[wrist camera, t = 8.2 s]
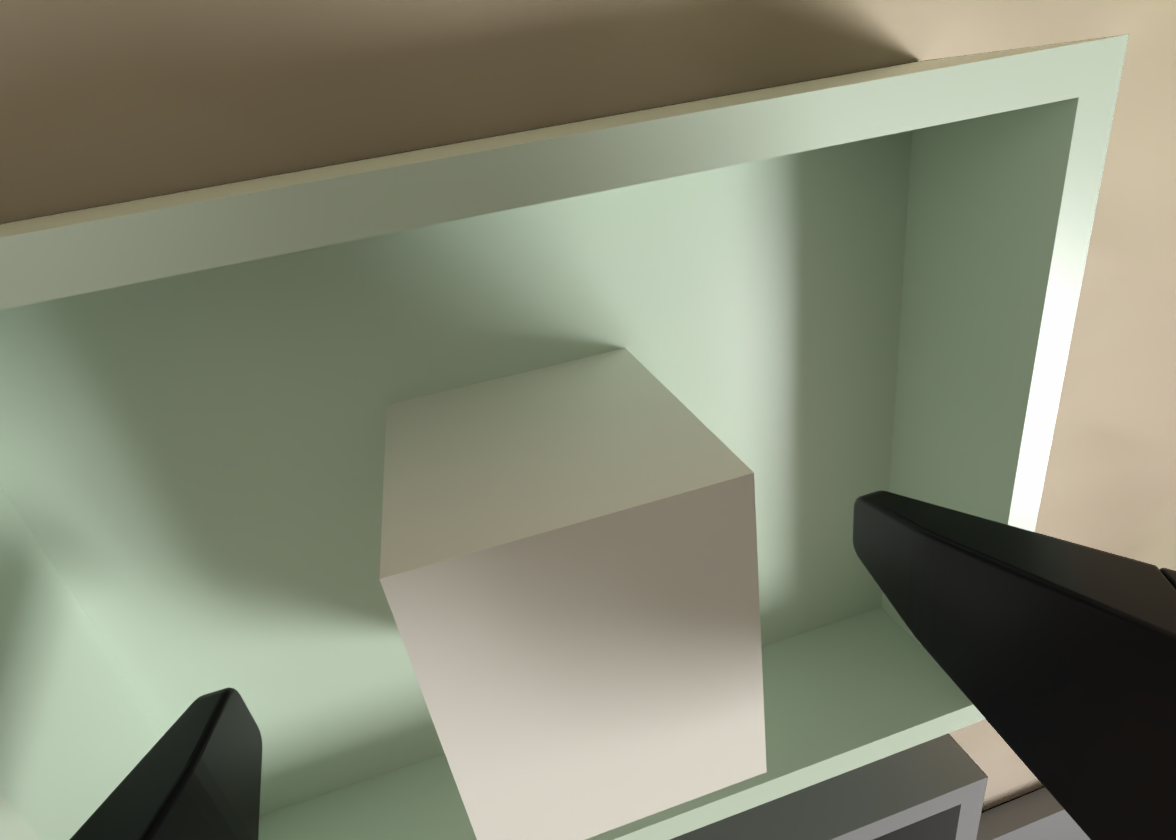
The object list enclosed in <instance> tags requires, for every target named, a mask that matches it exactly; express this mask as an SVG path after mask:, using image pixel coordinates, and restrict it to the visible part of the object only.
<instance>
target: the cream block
mask: <svg viewBox="0 0 1176 840" xmlns="http://www.w3.org/2000/svg"><path fill="white" fill-rule="evenodd" d="M379 579H380V582H381V585H382V587H383V590H384V593H385V595H386V598H387V601H388V603H389V606H390V609H391V611H392V614H393V617H394V619H395V622H396V625H397V627H398V630H399V633H400V635H401V638H402V641H403V643H404V646H405V649H406V651H407V654H408V657H409V659H410V662H411V665H412V667H413V670H414V673H415V675H416V678H417V681H418V683H419V686H420V689H421V691H422V694H423V697H424V699H425V702H426V705H427V707H428V710H429V713H430V715H431V718H432V721H433V723H434V726H435V729H436V731H437V734H438V737H439V740H440V742H441V745H442V748H443V750H444V753H445V756H446V758H447V761H448V764H449V766H450V769H451V772H452V774H453V777H454V780H455V782H456V785H457V788H458V790H459V793H460V796H461V798H462V801H463V804H464V806H465V809H466V812H467V814H468V817H469V820H470V822H471V825H472V828H473V830H474V833H475V836H476V838H477V840H585V839H588V838H590V837H593V836H596V835H599V834H601V833H604V832H607V831H609V830H612V829H615V828H617V827H620V826H623V825H626V824H628V823H631V822H634V821H636V820H639V819H642V818H644V817H647V816H650V815H652V814H655V813H658V812H661V811H663V810H666V809H669V808H671V807H674V806H677V805H679V804H682V803H685V802H688V801H690V800H693V799H696V798H698V797H701V796H704V795H706V794H709V793H712V792H714V791H717V790H720V789H723V788H725V787H728V786H731V785H733V784H736V783H739V782H741V781H744V780H747V779H750V778H752V777H755V776H758V775H760V774H763V773H766V772H767V768H766V744H765V720H764V697H763V673H762V649H761V625H760V602H759V578H758V554H757V530H756V507H755V483H754V472H753V471H752V470H751V469H750V468H749V467H748V466H747V465H746V464H745V463H743V462H742V461H741V460H740V459H739V458H738V457H737V456H736V455H735V454H734V453H733V452H732V451H731V450H730V449H729V448H728V447H727V446H726V445H725V444H724V443H723V442H722V441H721V440H720V439H719V438H718V437H717V436H716V435H715V434H714V433H712V432H711V431H710V430H709V429H708V428H707V427H706V426H705V425H704V424H703V423H702V422H701V421H700V420H699V419H698V418H697V417H696V416H695V415H694V414H693V413H692V412H691V411H690V410H689V409H688V408H687V407H686V406H685V405H684V404H683V403H682V402H680V401H679V400H678V399H677V398H676V397H675V396H674V395H673V394H672V393H671V392H670V391H669V390H668V389H667V388H666V387H665V386H664V385H663V384H662V383H661V382H660V381H659V380H658V379H657V378H656V377H655V376H654V375H653V374H652V373H651V372H649V371H648V370H647V369H646V368H645V367H644V366H643V365H642V364H641V363H640V362H639V361H638V360H637V359H636V358H635V357H634V356H633V355H632V354H631V353H630V352H629V351H628V350H627V349H626V348H623V349H619V350H615V351H611V352H606V353H602V354H598V355H594V356H590V357H586V358H581V359H577V360H573V361H569V362H565V363H560V364H556V365H552V366H548V367H544V368H540V369H535V370H531V371H527V372H523V373H519V374H515V375H510V376H506V377H502V378H498V379H494V380H489V381H485V382H481V383H477V384H473V385H469V386H464V387H460V388H456V389H452V390H448V391H444V392H439V393H435V394H431V395H427V396H423V397H418V398H414V399H410V400H406V401H402V402H398V403H393V404H389V405H387V407H386V432H385V456H384V481H383V505H382V529H381V554H380V578H379Z"/></svg>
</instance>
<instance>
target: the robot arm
mask: <svg viewBox="0 0 1176 840" xmlns="http://www.w3.org/2000/svg"><path fill="white" fill-rule="evenodd" d="M853 546H854V549H855V552H856V554H857V556H858V557H859V559H860V560H861V562H862V563H863V565H864V566H865V567H866V569H867V570H868V572H869V573H870V574H871V576H872V577H873V579H874V580H875V582H876V583H877V584H878V586H879V587H880V589H881V590H882V591H883V593H884V594H885V596H886V597H887V599H888V600H889V601H890V603H891V604H892V606H893V607H894V608H895V610H896V611H897V613H898V614H899V616H900V617H901V618H902V620H903V621H904V623H905V624H906V625H907V627H908V628H909V629H910V631H911V632H912V633H913V635H914V636H915V637H916V639H917V640H918V641H919V642H920V643H921V645H922V646H923V647H924V648H925V649H926V651H927V652H928V653H929V654H930V655H931V656H932V658H933V659H934V660H935V661H936V662H937V663H938V664H939V666H940V667H941V668H942V669H943V670H944V671H945V672H946V674H947V675H948V676H949V677H950V678H951V679H952V681H953V682H954V683H955V684H956V685H957V686H958V687H959V689H960V690H961V691H962V692H963V693H964V694H965V696H966V697H967V698H968V699H969V700H970V701H971V702H972V704H973V705H974V706H975V707H976V708H977V709H978V711H979V712H980V713H981V714H982V715H983V716H984V717H985V719H986V720H987V721H988V722H989V723H990V724H991V725H992V727H993V728H994V729H995V730H996V731H997V732H998V734H999V735H1000V736H1001V737H1002V738H1003V739H1004V740H1005V742H1006V743H1007V744H1008V745H1009V746H1010V747H1011V749H1012V750H1013V751H1014V752H1015V753H1016V754H1017V755H1018V757H1019V758H1020V759H1021V760H1022V761H1023V762H1024V764H1025V765H1026V766H1027V767H1028V768H1029V769H1030V770H1031V772H1032V773H1033V774H1034V775H1035V776H1036V777H1037V778H1038V780H1039V781H1040V782H1041V783H1042V784H1043V785H1044V787H1045V788H1046V789H1047V790H1048V791H1049V792H1050V793H1051V795H1052V796H1053V797H1054V798H1055V799H1056V800H1057V802H1058V803H1059V804H1060V805H1061V806H1062V807H1063V808H1064V810H1065V811H1066V812H1067V813H1068V814H1069V815H1070V817H1071V818H1072V819H1073V820H1074V821H1075V822H1076V823H1077V825H1078V826H1079V827H1080V828H1081V829H1082V830H1083V832H1084V833H1085V834H1086V835H1087V836H1088V837H1089V838H1090V840H1176V571H1174V570H1170V569H1167V568H1161V569H1158V567H1156V566H1155V565H1152V564H1148V563H1144V562H1141V561H1137V560H1133V559H1130V558H1126V557H1123V556H1119V555H1115V554H1112V553H1108V552H1104V551H1101V550H1097V549H1094V548H1090V547H1086V546H1083V545H1079V544H1076V543H1072V542H1068V541H1065V540H1061V539H1057V538H1054V537H1050V536H1047V535H1043V534H1039V533H1036V532H1032V531H1029V530H1025V529H1021V528H1018V527H1014V526H1010V525H1007V524H1003V523H1000V522H996V521H992V520H989V519H985V518H981V517H978V516H974V515H971V514H967V513H963V512H960V511H956V510H953V509H949V508H945V507H942V506H938V505H934V504H931V503H927V502H924V501H920V500H916V499H913V498H909V497H906V496H902V495H898V494H895V493H891V492H888V491H882V490H880V491H875V492H872V493H869V494H865V495H862V496H860V497H858V498H857V499H856V500H855V503H854V511H853ZM261 769H262V737H261V733H260V730H259V728H258V726H257V724H256V722H255V720H254V718H253V717H252V715H251V713H250V711H249V709H248V708H247V706H246V704H245V702H244V700H243V699H242V697H241V695H240V694H239V692H238V691H237V690H236V689H234V688H230V687H229V688H224V689H221V690H218V691H214V692H211V693H208V694H204V695H202V696H200V697H198V698H197V699H196V700H195V701H194V702H193V703H192V704H191V705H190V706H189V707H188V708H187V709H186V711H185V712H184V713H183V714H182V715H181V716H180V717H179V718H178V719H177V721H176V722H175V723H174V724H173V725H172V726H171V727H170V728H169V729H168V731H167V732H166V733H165V734H164V735H163V736H162V737H161V738H160V739H159V741H158V742H157V743H156V744H155V745H154V746H153V747H152V748H151V749H150V751H149V752H148V753H147V754H146V755H145V756H144V757H143V758H142V759H141V761H140V762H139V763H138V764H137V765H136V766H135V767H134V768H133V770H132V771H131V772H130V773H129V774H128V775H127V776H126V777H125V778H124V780H123V781H122V782H121V783H120V784H119V785H118V786H117V787H116V788H115V790H114V791H113V792H112V793H111V794H110V795H109V796H108V797H107V798H106V800H105V801H104V802H103V803H102V804H101V805H100V806H99V807H98V808H97V810H96V811H95V812H94V813H93V814H92V815H91V816H90V817H89V818H88V820H87V821H86V822H85V823H84V824H83V825H82V826H81V827H80V829H79V830H78V831H77V832H76V833H75V834H74V835H73V836H72V837H71V839H70V840H258V835H259V813H260V791H261Z"/></svg>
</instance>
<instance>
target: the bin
mask: <svg viewBox="0 0 1176 840" xmlns="http://www.w3.org/2000/svg"><path fill="white" fill-rule="evenodd" d="M1128 37H1129V34H1128V35H1120V36H1112V37H1104V38H1096V39H1089V40H1081V41H1073V42H1065V43H1057V44H1049V45H1042V46H1034V47H1026V48H1018V49H1010V50H1003V51H995V52H987V53H979V54H971V55H964V56H956V57H948V58H940V59H932V60H925V61H918V62H913V63H907V64H901V65H896V66H890V67H885V68H879V69H873V70H868V71H862V72H856V73H851V74H845V75H839V76H834V77H828V78H822V79H817V80H811V81H805V82H800V83H794V84H789V85H783V86H777V87H772V88H766V89H760V90H755V91H749V92H743V93H738V94H732V95H726V96H721V97H715V98H710V99H704V100H698V101H693V102H687V103H681V104H676V105H670V106H664V107H659V108H653V109H647V110H642V111H636V112H631V113H625V114H619V115H614V116H608V117H602V118H597V119H591V120H585V121H580V122H574V123H568V124H563V125H557V126H551V127H546V128H540V129H535V130H529V131H523V132H518V133H512V134H506V135H501V136H495V137H489V138H484V139H478V140H472V141H467V142H461V143H456V144H450V145H444V146H439V147H433V148H427V149H422V150H416V151H410V152H405V153H399V154H393V155H388V156H382V157H376V158H371V159H365V160H360V161H354V162H348V163H343V164H337V165H331V166H326V167H320V168H314V169H309V170H303V171H297V172H292V173H286V174H281V175H275V176H269V177H264V178H258V179H252V180H247V181H241V182H235V183H230V184H224V185H218V186H213V187H207V188H201V189H196V190H190V191H185V192H179V193H173V194H168V195H162V196H156V197H151V198H145V199H139V200H134V201H128V202H122V203H117V204H111V205H106V206H100V207H94V208H89V209H83V210H77V211H72V212H66V213H60V214H55V215H49V216H43V217H38V218H32V219H26V220H21V221H15V222H10V223H4V224H0V840H70V839H71V837H72V836H73V835H74V834H75V833H76V832H77V831H78V830H79V829H80V827H81V826H82V825H83V824H84V823H85V822H86V821H87V820H88V818H89V817H90V816H91V815H92V814H93V813H94V812H95V811H96V810H97V808H98V807H99V806H100V805H101V804H102V803H103V802H104V801H105V800H106V798H107V797H108V796H109V795H110V794H111V793H112V792H113V791H114V790H115V788H116V787H117V786H118V785H119V784H120V783H121V782H122V781H123V780H124V778H125V777H126V776H127V775H128V774H129V773H130V772H131V771H132V770H133V768H134V767H135V766H136V765H137V764H138V763H139V762H140V761H141V759H142V758H143V757H144V756H145V755H146V754H147V753H148V752H149V751H150V749H151V748H152V747H153V746H154V745H155V744H156V743H157V742H158V741H159V739H160V738H161V737H162V736H163V735H164V734H165V733H166V732H167V731H168V729H169V728H170V727H171V726H172V725H173V724H174V723H175V722H176V721H177V719H178V718H179V717H180V716H181V715H182V714H183V713H184V712H185V711H186V709H187V708H188V707H189V706H190V705H191V704H192V703H193V702H194V701H195V700H196V699H197V698H198V697H200V696H202V695H204V694H208V693H211V692H214V691H218V690H221V689H224V688H229V687H230V688H234V689H236V690H237V691H238V692H239V694H240V695H241V697H242V699H243V700H244V702H245V704H246V706H247V708H248V709H249V711H250V713H251V715H252V717H253V718H254V720H255V722H256V724H257V726H258V728H259V730H260V733H261V737H262V769H261V791H260V813H259V835H258V840H477V838H476V836H475V833H474V830H473V828H472V825H471V822H470V820H469V817H468V814H467V812H466V809H465V806H464V804H463V801H462V798H461V796H460V793H459V790H458V788H457V785H456V782H455V780H454V777H453V774H452V772H451V769H450V766H449V764H448V761H447V758H446V756H445V753H444V750H443V748H442V745H441V742H440V740H439V737H438V734H437V731H436V729H435V726H434V723H433V721H432V718H431V715H430V713H429V710H428V707H427V705H426V702H425V699H424V697H423V694H422V691H421V689H420V686H419V683H418V681H417V678H416V675H415V673H414V670H413V667H412V665H411V662H410V659H409V657H408V654H407V651H406V649H405V646H404V643H403V641H402V638H401V635H400V633H399V630H398V627H397V625H396V622H395V619H394V617H393V614H392V611H391V609H390V606H389V603H388V601H387V598H386V595H385V593H384V590H383V587H382V585H381V582H380V579H379V578H380V554H381V529H382V505H383V481H384V456H385V432H386V407H387V405H389V404H393V403H398V402H402V401H406V400H410V399H414V398H418V397H423V396H427V395H431V394H435V393H439V392H444V391H448V390H452V389H456V388H460V387H464V386H469V385H473V384H477V383H481V382H485V381H489V380H494V379H498V378H502V377H506V376H510V375H515V374H519V373H523V372H527V371H531V370H535V369H540V368H544V367H548V366H552V365H556V364H560V363H565V362H569V361H573V360H577V359H581V358H586V357H590V356H594V355H598V354H602V353H606V352H611V351H615V350H619V349H623V348H626V349H627V350H628V351H629V352H630V353H631V354H632V355H633V356H634V357H635V358H636V359H637V360H638V361H639V362H640V363H641V364H642V365H643V366H644V367H645V368H646V369H647V370H648V371H649V372H651V373H652V374H653V375H654V376H655V377H656V378H657V379H658V380H659V381H660V382H661V383H662V384H663V385H664V386H665V387H666V388H667V389H668V390H669V391H670V392H671V393H672V394H673V395H674V396H675V397H676V398H677V399H678V400H679V401H680V402H682V403H683V404H684V405H685V406H686V407H687V408H688V409H689V410H690V411H691V412H692V413H693V414H694V415H695V416H696V417H697V418H698V419H699V420H700V421H701V422H702V423H703V424H704V425H705V426H706V427H707V428H708V429H709V430H710V431H711V432H712V433H714V434H715V435H716V436H717V437H718V438H719V439H720V440H721V441H722V442H723V443H724V444H725V445H726V446H727V447H728V448H729V449H730V450H731V451H732V452H733V453H734V454H735V455H736V456H737V457H738V458H739V459H740V460H741V461H742V462H743V463H745V464H746V465H747V466H748V467H749V468H750V469H751V470H752V471H753V472H754V483H755V507H756V530H757V554H758V578H759V602H760V625H761V649H762V673H763V697H764V720H765V744H766V768H767V772H766V773H763V774H760V775H758V776H755V777H752V778H750V779H747V780H744V781H741V782H739V783H736V784H733V785H731V786H728V787H725V788H723V789H720V790H717V791H714V792H712V793H709V794H706V795H704V796H701V797H698V798H696V799H693V800H690V801H688V802H685V803H682V804H679V805H677V806H674V807H671V808H669V809H666V810H663V811H661V812H658V813H655V814H652V815H650V816H647V817H644V818H642V819H639V820H636V821H634V822H631V823H628V824H626V825H623V826H620V827H617V828H615V829H612V830H609V831H607V832H604V833H601V834H599V835H596V836H593V837H590V838H588V839H585V840H670V839H672V838H675V837H678V836H680V835H683V834H685V833H688V832H691V831H693V830H696V829H699V828H701V827H704V826H706V825H709V824H712V823H714V822H717V821H720V820H722V819H725V818H727V817H730V816H733V815H735V814H738V813H741V812H743V811H746V810H748V809H751V808H754V807H756V806H759V805H762V804H764V803H767V802H769V801H772V800H775V799H777V798H780V797H783V796H785V795H788V794H790V793H793V792H796V791H798V790H801V789H804V788H806V787H809V786H811V785H814V784H817V783H819V782H822V781H825V780H827V779H830V778H832V777H835V776H838V775H840V774H843V773H846V772H848V771H851V770H853V769H856V768H859V767H861V766H864V765H867V764H869V763H872V762H874V761H877V760H880V759H882V758H885V757H887V756H890V755H893V754H895V753H898V752H901V751H903V750H906V749H908V748H911V747H914V746H916V745H919V744H922V743H924V742H927V741H929V740H932V739H935V738H937V737H940V736H943V735H945V734H948V733H950V732H953V731H956V730H958V729H961V728H964V727H966V726H969V725H971V724H974V723H977V722H979V721H982V720H985V717H984V716H983V715H982V714H981V713H980V712H979V711H978V709H977V708H976V707H975V706H974V705H973V704H972V702H971V701H970V700H969V699H968V698H967V697H966V696H965V694H964V693H963V692H962V691H961V690H960V689H959V687H958V686H957V685H956V684H955V683H954V682H953V681H952V679H951V678H950V677H949V676H948V675H947V674H946V672H945V671H944V670H943V669H942V668H941V667H940V666H939V664H938V663H937V662H936V661H935V660H934V659H933V658H932V656H931V655H930V654H929V653H928V652H927V651H926V649H925V648H924V647H923V646H922V645H921V643H920V642H919V641H918V640H917V639H916V637H915V636H914V635H913V633H912V632H911V631H910V629H909V628H908V627H907V625H906V624H905V623H904V621H903V620H902V618H901V617H900V616H899V614H898V613H897V611H896V610H895V608H894V607H893V606H892V604H891V603H890V601H889V600H888V599H887V597H886V596H885V594H884V593H883V591H882V590H881V589H880V587H879V586H878V584H877V583H876V582H875V580H874V579H873V577H872V576H871V574H870V573H869V572H868V570H867V569H866V567H865V566H864V565H863V563H862V562H861V560H860V559H859V557H858V556H857V554H856V552H855V549H854V546H853V511H854V503H855V500H856V499H857V498H858V497H860V496H862V495H865V494H869V493H872V492H875V491H880V490H882V491H888V492H891V493H895V494H898V495H902V496H906V497H909V498H913V499H916V500H920V501H924V502H927V503H931V504H934V505H938V506H942V507H945V508H949V509H953V510H956V511H960V512H963V513H967V514H971V515H974V516H978V517H981V518H985V519H989V520H992V521H996V522H1000V523H1003V524H1007V525H1010V526H1014V527H1018V528H1021V529H1025V530H1029V531H1032V532H1035V527H1036V522H1037V516H1038V511H1039V506H1040V501H1041V495H1042V490H1043V485H1044V479H1045V474H1046V469H1047V464H1048V458H1049V453H1050V448H1051V443H1052V437H1053V432H1054V427H1055V422H1056V416H1057V411H1058V406H1059V400H1060V395H1061V390H1062V385H1063V379H1064V374H1065V369H1066V364H1067V358H1068V353H1069V348H1070V343H1071V337H1072V332H1073V327H1074V321H1075V316H1076V311H1077V306H1078V300H1079V295H1080V290H1081V285H1082V279H1083V274H1084V269H1085V263H1086V258H1087V253H1088V248H1089V242H1090V237H1091V232H1092V227H1093V221H1094V216H1095V211H1096V206H1097V200H1098V195H1099V190H1100V184H1101V179H1102V174H1103V169H1104V163H1105V158H1106V153H1107V148H1108V142H1109V137H1110V132H1111V127H1112V121H1113V116H1114V111H1115V105H1116V100H1117V95H1118V90H1119V84H1120V79H1121V74H1122V69H1123V63H1124V58H1125V53H1126V47H1127V42H1128Z"/></svg>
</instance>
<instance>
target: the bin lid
mask: <svg viewBox="0 0 1176 840" xmlns="http://www.w3.org/2000/svg"><path fill="white" fill-rule="evenodd" d="M976 840H1090V838H1089V837H1088V836H1087V835H1086V834H1085V833H1084V832H1083V830H1082V829H1081V828H1080V827H1079V826H1078V825H1077V823H1076V822H1075V821H1074V820H1073V819H1072V818H1071V817H1070V815H1069V814H1068V813H1067V812H1066V811H1065V810H1064V808H1063V807H1062V806H1061V805H1060V804H1059V803H1058V802H1057V800H1056V799H1055V798H1054V797H1053V796H1052V795H1051V793H1050V792H1049V791H1048V790H1047V789H1046V788H1045V787H1044V788H1042V789H1039V790H1037V791H1034V792H1032V793H1029V794H1027V795H1025V796H1022V797H1020V798H1017V799H1015V800H1012V801H1010V802H1008V803H1005V804H1003V805H1000V806H998V807H995V808H993V809H990V810H988V811H986V812H983V813H981V817H980V822H979V827H978V832H977V838H976Z"/></svg>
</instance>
